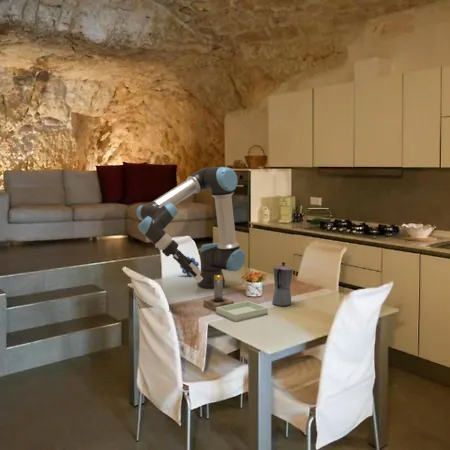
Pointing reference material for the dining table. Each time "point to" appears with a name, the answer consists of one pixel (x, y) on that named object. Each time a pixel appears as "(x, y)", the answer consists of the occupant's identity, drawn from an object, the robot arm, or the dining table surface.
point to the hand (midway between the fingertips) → (200, 277)
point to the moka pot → (282, 285)
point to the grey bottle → (218, 288)
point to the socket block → (212, 305)
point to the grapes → (191, 262)
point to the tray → (241, 311)
